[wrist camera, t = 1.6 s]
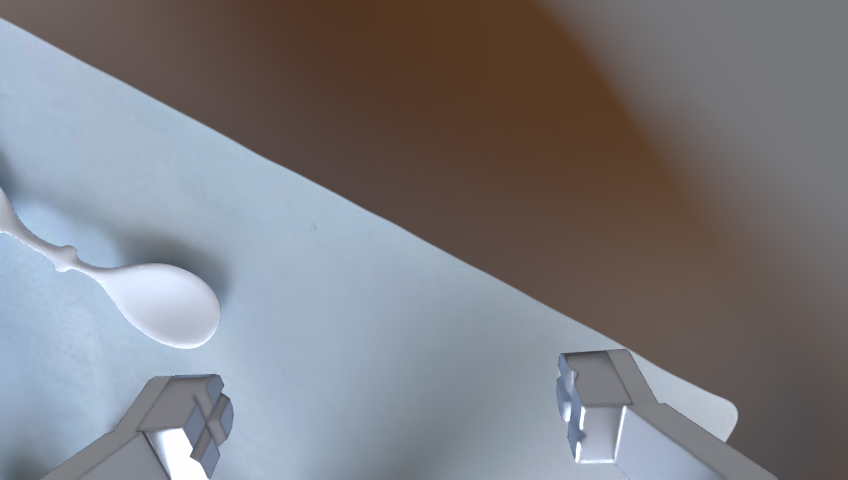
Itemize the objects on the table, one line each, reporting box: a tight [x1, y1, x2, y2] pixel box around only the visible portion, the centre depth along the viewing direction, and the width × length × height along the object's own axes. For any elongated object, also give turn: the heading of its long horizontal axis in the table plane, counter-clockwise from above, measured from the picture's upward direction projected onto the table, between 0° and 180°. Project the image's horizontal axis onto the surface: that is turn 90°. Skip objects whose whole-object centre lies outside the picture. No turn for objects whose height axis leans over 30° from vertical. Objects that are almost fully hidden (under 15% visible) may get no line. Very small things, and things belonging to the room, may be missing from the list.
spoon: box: [0, 187, 221, 349], centre depth 49 cm, size 9×32×4 cm, turn 57°
